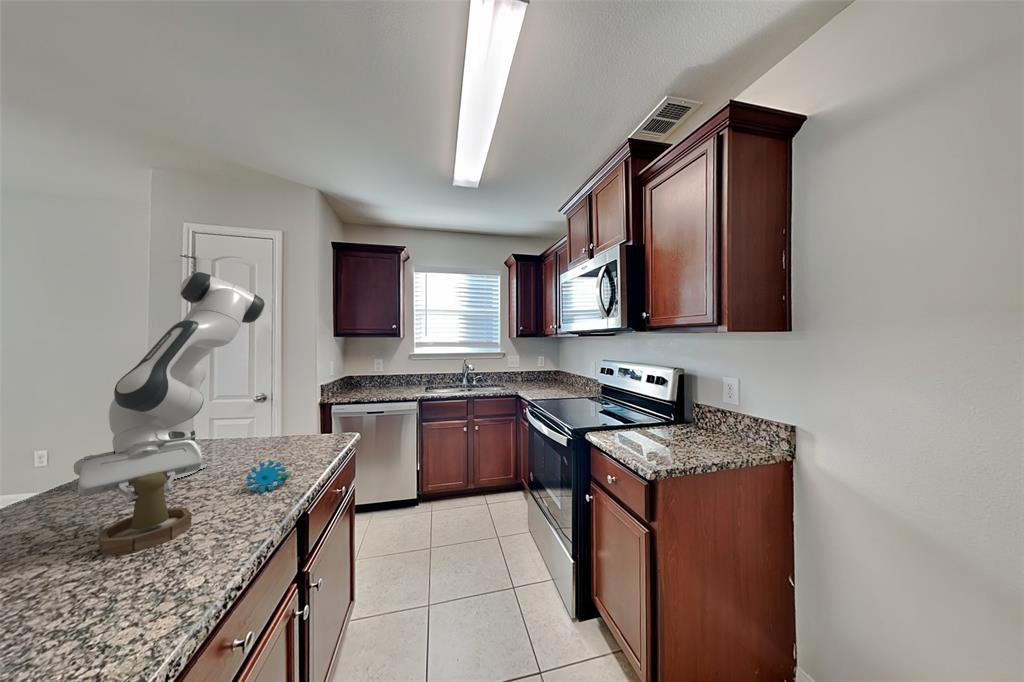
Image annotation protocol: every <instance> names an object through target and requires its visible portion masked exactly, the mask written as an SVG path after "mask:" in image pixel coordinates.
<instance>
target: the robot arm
mask: <svg viewBox="0 0 1024 682" xmlns="http://www.w3.org/2000/svg"><path fill="white" fill-rule="evenodd" d="M180 296H181V297H182V299H184V300H186V301H187V302H189V303H190V304H194V306H193V307H191V309H190V310H189V311H188V312H187V314H186V315H185V316H184V318H183V320H182V321H178V322H177V323H175V324H174V325H172V326H171V328H169V329H168V330H167V331H166V332H165V334H163V336H161V338H160V339H159V340H158V341H157V342H156V343H155V344H154V346H152V348H150V350H149V351H148V352H147V353H146V355H145V356H144V357H143V358H142V359H141V360H140V362H139V363H138V364H136V365H135V367H133V368H131V370H130V371H128V372H127V373H126V374H124V375H123V376H122V377H121V378H120V379H119V380H118V381H117V383H116V384H115V386H114V391H113V394H114V396H113V397H114V398H113V399H112V402H111V403H110V407H109V411H108V422H109V428H110V431H111V432H112V433H113V437H112V440H111V441H112V448H113V451H108V452H103V453H99V454H94V455H93V454H91V455H85V456H84V457H83V458H79V460H77V461H75V462H74V464H73V472H74V474H75V475H78V483H77V495H79V496H82V497H90V496H94V495H97V494H103V493H106V492H110V491H114V490H117V491H118V493H119V494H120V495H122V496H123V497H125V498H126V501H127V503H128V504H129V503H133V502H134V503H135V501H136V500H137V499H138V492H136V491H135V490H133V491H132V490H131V489H130V488H129V487H132V486H133V484H134V482H135V480H136V479H137V478H139V477H141V476H144V475H147V474H152V473H162V474H164V475H165V476H166V482H165V484H164V486H163V492H164V494H167V493H171V492H172V490H173V489H172V488H173V486H172V483H173V482H174V481H175V480H174V479H176V480H178V479H177V478H180V479H182V478H181V477H183V478H185V477H184V476H187V475H190V474H192V473H194V472H196V471H198V470H199V469H201V468H203V467H206V466H207V465H208V464H207V463H204V457H203V456H204V455H203V453H202V448H201V447H202V446H201V445H200V444H198V443H197V442H196V430H195V429H194V417H195V416H197V414H198V413H199V412H200V411H201V409H202V407H203V405H204V394H203V393H202V392H200V391H199V390H200V387H201V385H202V384H203V382H204V381H205V380H206V378H207V370H206V368H205V367H204V365H202V364H201V363H199V362H201V360H202V359H204V358H205V357H207V356H208V355H210V353H211V352H212V350H213V349H214V348H220V347H223V346H226V345H228V344H230V343H231V342H232V341H233V340H234V338H236V335H237V333H238V332H239V329H240V327H241V325H242V323H244V324H249V323H250V324H251V323H253V322H256V321H257V320H258V319H259V318H261V316H262V315H263V313H264V310H265V305H266V303H265V301H264V299H263V298H262V297H261V296H259V295H258V294H254V293H252V292H250V291H248V290H247V289H245V288H244V287H241V286H239V285H237V284H233V283H232V282H229V281H225V280H224V279H221V278H217V277H215V276H211V274H208V273H205V272H201V271H197V272H193V273H192V274H190V275H188V276H187V277H186V278H184V280H183V281H182V283H181V285H180ZM198 472H199V471H198ZM192 475H193V474H192ZM190 476H191V475H190ZM187 477H188V476H187Z"/></svg>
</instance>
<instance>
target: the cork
mask: <svg viewBox="0 0 1024 682" xmlns="http://www.w3.org/2000/svg"><path fill="white" fill-rule="evenodd" d="M165 483H167V481H166V476H165V475H164V474H162V473H152V474H147V475H144V476H141V477H139V478H137V479H136V480H135V482H134V484H133V485H132V486H133V487H132V488H133V491H136V492H138V499H137V500H136V501H134V508H133V514H132V517H133V518H132V524H131V529H134V530H138V529H145V528H149V527H153V526H156V525H158V524H161V523H163V522H165V521H166V520H168V518H169V516H168V511H167V509H168V507H167V502H166V497H165V496H166V495H165V493H164V492H163V486H164V484H165Z"/></svg>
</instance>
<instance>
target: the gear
mask: <svg viewBox="0 0 1024 682" xmlns="http://www.w3.org/2000/svg"><path fill="white" fill-rule="evenodd" d="M274 463H275V462H274V461H273V460H269V461H268V463H267V466H265V465H266V464H265V462H259V467H260V469H259V471H257V467H256V466H254V467H251V469H250V471H251V473H248V474H247V475H246V480H248V481H246V486H247V487H251V486H252V487H251V488H250V490H251V492H253V493H254V492H256V491H257V490H258V493H259V494H264V493H266V491H265V490H266V488H267V487H268V486H269V487H268V491H269V492H272V491H274V490H275V486H274V483H275V482H276V486H278V487H279V486H281V485H282V484H286V483H287V480H288V478H290V477H291V472H290V471H289V472H288V471H287V472H286V466H282V463H281V462H280V461H277V462H276V463H275V464H274ZM264 466H265V467H264ZM281 466H282V467H281ZM279 472H281V473H279ZM282 472H283V473H282ZM284 472H286V473H284ZM252 473H254V474H255V475H252ZM250 480H254V481H250ZM285 482H286V483H285ZM253 485H257V486H253ZM259 488H260V489H259Z"/></svg>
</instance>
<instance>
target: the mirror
mask: <svg viewBox="0 0 1024 682" xmlns="http://www.w3.org/2000/svg"><path fill="white" fill-rule="evenodd" d="M167 511H168V516H169V518H168V520H166V521H165V522H163V523H161V524H158V525H156V526H153V527H149V528H145V529H138V530H134V529H131V524H132V518H133V516H130V517H127V518H125V519H121V520H120V521H117V522H116V523H114V524H113V525H110V526H109V527H107V528H105V529H103V530H100V531H99V532H98V547H99V552H100V556H111V555H113V554H114V555H123V554H132V553H137V552H140V551H143V550H146V549H149V548H152V547H155V546H158V545H160V544H161V545H162V544H164V543H167V542H170V541H172V540H174V539H176V538H177V537H179V536H180V535H181V534H183V533H184V532H185V531H187V530H189V529H190V528H191V527H192V512H190V510H189V509H188V508H187V507H174V508H173V507H172V508H167ZM114 555H113V556H114Z"/></svg>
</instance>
